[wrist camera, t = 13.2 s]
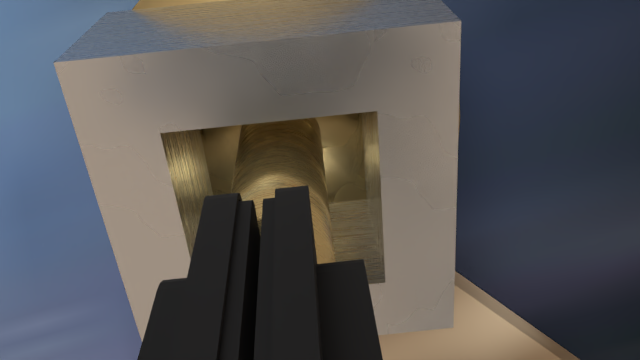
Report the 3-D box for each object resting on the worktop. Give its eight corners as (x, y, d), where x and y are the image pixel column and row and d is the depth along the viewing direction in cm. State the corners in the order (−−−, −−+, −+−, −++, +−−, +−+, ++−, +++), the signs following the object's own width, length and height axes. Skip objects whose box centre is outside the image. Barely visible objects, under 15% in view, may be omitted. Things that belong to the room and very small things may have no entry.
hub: (508, 82, 17) (651, 236, 10) (304, 285, 20) (313, 501, 13) (247, -155, 14) (210, -154, 7) (53, 129, 17) (-96, 311, 10)
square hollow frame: (423, 239, 17) (453, 327, 14) (172, 264, 17) (147, 358, 14) (421, -20, 13) (461, 21, 10) (106, 12, 13) (53, 62, 10)
